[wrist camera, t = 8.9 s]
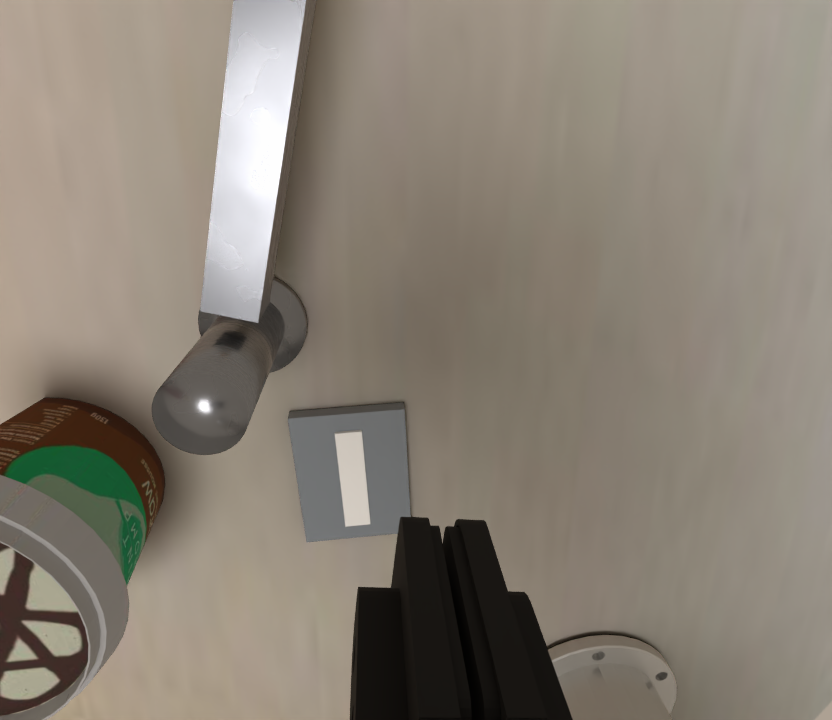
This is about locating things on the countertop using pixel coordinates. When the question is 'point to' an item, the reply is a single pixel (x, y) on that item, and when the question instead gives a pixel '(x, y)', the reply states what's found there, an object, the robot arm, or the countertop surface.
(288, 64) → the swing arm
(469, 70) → the countertop surface
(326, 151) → the countertop surface
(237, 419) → the pivot post
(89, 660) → the food container
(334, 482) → the label tile
